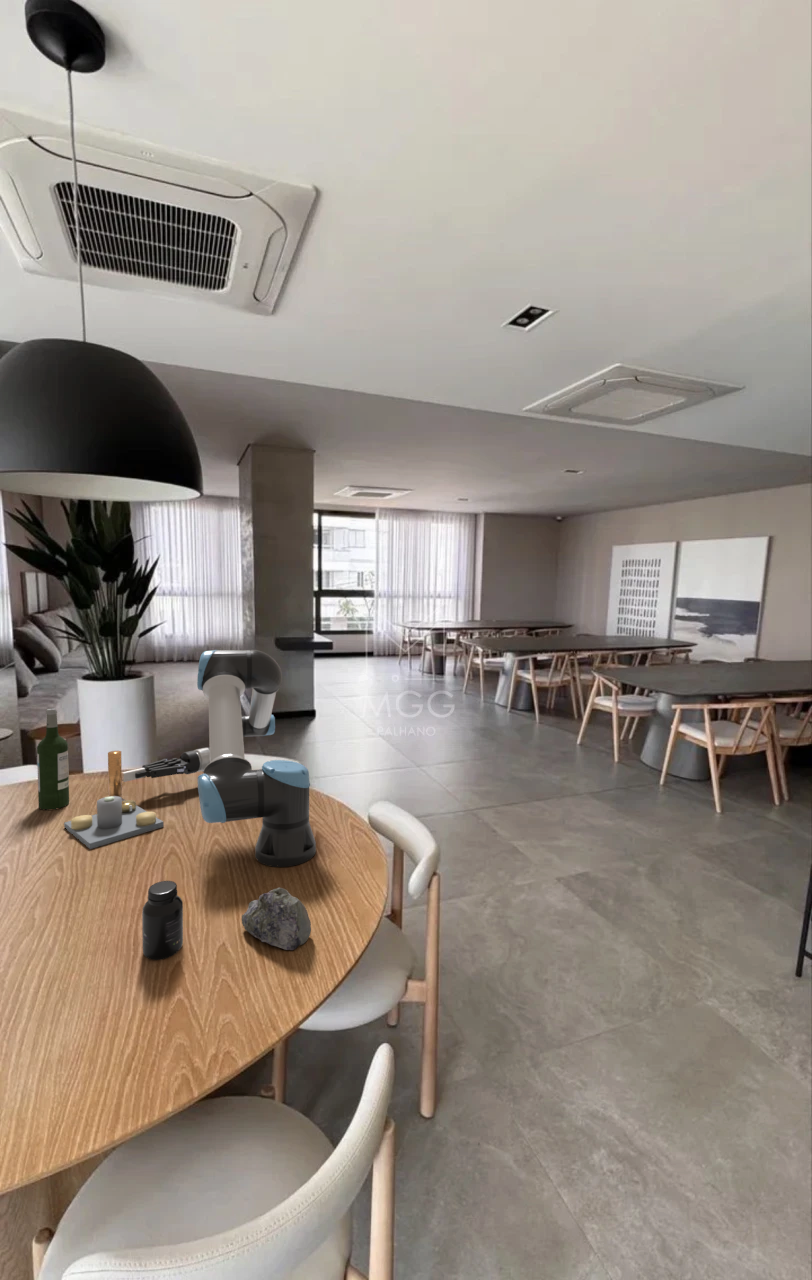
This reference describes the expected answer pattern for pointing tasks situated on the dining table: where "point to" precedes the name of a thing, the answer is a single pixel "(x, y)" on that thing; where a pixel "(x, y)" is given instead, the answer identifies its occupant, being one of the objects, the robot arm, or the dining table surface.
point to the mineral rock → (278, 919)
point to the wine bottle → (52, 766)
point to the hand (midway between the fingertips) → (123, 777)
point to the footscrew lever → (117, 780)
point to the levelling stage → (114, 833)
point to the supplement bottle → (162, 921)
